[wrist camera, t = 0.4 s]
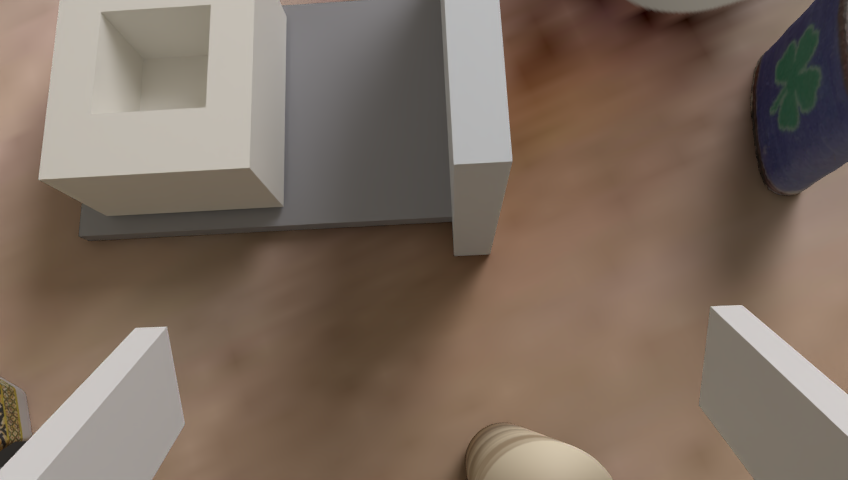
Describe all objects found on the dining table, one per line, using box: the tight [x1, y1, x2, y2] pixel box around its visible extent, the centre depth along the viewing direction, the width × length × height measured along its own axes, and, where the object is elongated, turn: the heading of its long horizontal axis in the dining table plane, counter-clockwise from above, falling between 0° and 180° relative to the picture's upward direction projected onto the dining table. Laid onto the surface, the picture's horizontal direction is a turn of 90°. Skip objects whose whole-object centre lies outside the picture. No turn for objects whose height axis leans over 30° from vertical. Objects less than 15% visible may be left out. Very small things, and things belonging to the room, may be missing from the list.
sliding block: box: [38, 0, 287, 216], centre depth 34 cm, size 12×10×6 cm
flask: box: [750, 0, 848, 196], centre depth 31 cm, size 9×3×11 cm, turn 174°
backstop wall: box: [79, 0, 512, 256], centre depth 31 cm, size 18×23×14 cm
